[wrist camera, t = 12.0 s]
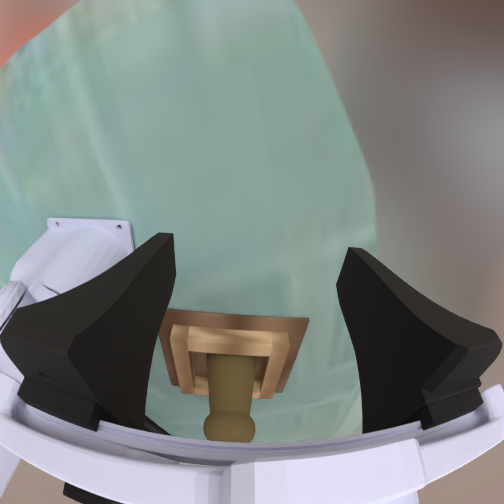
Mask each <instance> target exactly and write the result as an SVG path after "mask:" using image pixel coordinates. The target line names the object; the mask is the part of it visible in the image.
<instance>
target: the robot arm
mask: <svg viewBox="0 0 504 504" xmlns="http://www.w3.org/2000/svg"><path fill="white" fill-rule="evenodd" d="M58 223H59V224H58ZM118 225H121V227H122V228H120V227H119V226H118ZM47 226H48V230H47V231H46V232H45V233H44V234H43V235H42V236H41V237H40V238H39V239H38V240H37V241H36V242H35V243H34V244H33V245H32V246H31V247H30V248H29V249H28V250H27V251H26V252H25V253H24V254H23V256H22V257H21V258H20V259H19V260H18V261H17V263H16V264H15V266H14V268H13V270H12V273H11V276H10V281H9V282H8V283H7V284H6V285H5V286H4V287H3V288H2V289H1V290H0V500H1V497H2V495H3V493H4V491H5V489H6V487H7V485H8V483H9V481H10V479H11V477H12V475H13V473H14V471H15V470H16V468H17V466H18V464H19V462H20V460H21V459H24V460H25V461H27V462H29V463H30V464H33V465H34V466H36V467H37V468H39V469H41V470H43V471H45V472H47V473H49V474H51V475H53V476H55V477H57V478H59V479H61V480H63V481H65V482H67V483H69V484H72V485H74V486H76V487H79V488H81V489H84V490H86V491H89V492H91V493H94V494H97V495H99V496H102V497H105V498H108V499H111V500H114V501H117V502H120V503H124V504H419V501H418V495H417V490H419V489H421V488H423V487H425V485H426V484H428V483H430V482H432V481H434V480H437V479H439V478H441V477H443V476H445V475H446V474H448V473H450V472H452V471H454V470H456V469H458V468H460V467H462V466H463V465H465V464H467V463H468V462H470V461H472V460H473V459H475V458H477V457H478V456H480V455H482V454H483V453H485V452H486V451H488V450H489V449H491V448H492V447H494V446H495V445H496V444H498V443H499V442H501V441H502V440H503V439H504V392H503V389H502V387H501V385H500V384H497V385H495V386H492V387H490V388H488V389H486V390H484V391H483V392H481V393H480V392H479V390H478V387H480V386H481V381H480V379H479V377H480V376H481V375H482V374H483V373H484V372H485V370H487V368H488V367H489V366H490V365H491V364H492V363H493V362H494V360H495V359H496V358H497V356H498V355H499V353H500V351H501V348H502V342H501V340H500V339H499V337H498V335H497V334H496V333H495V331H494V330H492V329H489V328H487V327H484V326H481V325H479V324H476V323H473V322H471V321H469V320H467V319H464V318H462V317H460V316H458V315H456V314H454V313H452V312H450V311H448V310H446V309H445V308H443V307H441V306H439V305H438V304H436V303H434V302H433V301H431V300H430V299H428V298H427V297H425V296H424V295H422V294H421V293H419V292H418V291H416V290H415V289H414V288H412V287H411V286H410V285H408V284H407V283H406V282H404V281H403V280H402V279H401V278H399V277H398V276H397V275H396V274H394V273H393V272H392V271H391V270H389V269H388V268H387V267H386V266H385V265H383V264H382V263H381V262H380V261H378V260H377V259H376V258H375V257H373V256H372V255H371V254H369V253H368V252H367V251H365V250H363V249H362V248H353V247H348V251H347V254H346V257H345V260H344V263H343V266H342V269H341V272H340V275H339V278H338V281H337V284H336V287H337V293H338V298H339V303H340V307H341V310H342V313H343V316H344V319H345V322H346V325H347V328H348V331H349V334H350V337H351V340H352V344H353V347H354V351H355V354H356V360H357V365H358V371H359V379H360V387H361V397H362V420H363V427H362V434H359V435H353V436H347V437H340V438H332V439H324V440H314V441H301V442H282V443H240V442H221V441H209V440H198V439H190V438H182V437H175V436H169V435H163V434H157V433H152V432H147V431H144V418H145V405H146V396H147V388H148V381H149V374H150V368H151V362H152V357H153V352H154V347H155V343H156V340H157V336H158V333H159V330H160V327H161V324H162V321H163V319H164V316H165V313H166V310H167V307H168V304H169V301H170V299H171V296H172V292H173V287H174V282H175V278H176V266H175V252H174V237H173V233H157V234H156V235H154V236H153V237H152V238H150V239H149V240H148V241H146V242H145V243H144V244H142V245H141V246H140V247H138V248H137V249H136V250H134V244H133V238H132V230H131V225H130V223H129V222H128V221H125V220H103V219H77V218H49V219H48V220H47ZM178 462H183V463H191V464H199V465H210V466H198V465H182V464H179V463H178Z"/></svg>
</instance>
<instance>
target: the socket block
mask: <svg viewBox="0 0 504 504" xmlns="http://www.w3.org/2000/svg"><path fill="white" fill-rule="evenodd" d="M308 323H309V318H292V317H267V316H249V315H233V314H220V313H207V312H196V311H186V310H176V309H167V310H166V313H165V316H164V319H163V321H162V324H161V327H160V330H159V336H160V341H161V345H162V349H163V353H164V357H165V361H166V365H167V369H168V372H169V376H170V380H171V383H172V385H174V386H180V388H181V392H182V393H188V394H197V395H207V396H209V389H208V371H207V353H216V354H230V355H247V356H257V364H256V371H255V379H254V386H253V394H252V398H260V399H272V397H273V394H274V393H282V392H283V389H284V387H285V384H286V382H287V379H288V377H289V374H290V372H291V369H292V367H293V364H294V361H295V359H296V356H297V353H298V351H299V348H300V345H301V342H302V340H303V337H304V334H305V331H306V328H307V326H308Z"/></svg>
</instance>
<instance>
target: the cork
mask: <svg viewBox="0 0 504 504" xmlns="http://www.w3.org/2000/svg"><path fill="white" fill-rule="evenodd" d="M256 364H257V356H247V355H230V354H216V353H207V371H208V389H209V404H210V414H209V415H208V416H207V418H206V419H205V422H204V428H203V429H204V434H205V436H206V438H207V440H209V441H221V442H240V443H249V442H251V441H252V439H253V438H254V434H255V424H254V421H253V419H252V418H251V417H250V416H249V415H250V408H251V401H252V394H253V386H254V379H255V371H256Z"/></svg>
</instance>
